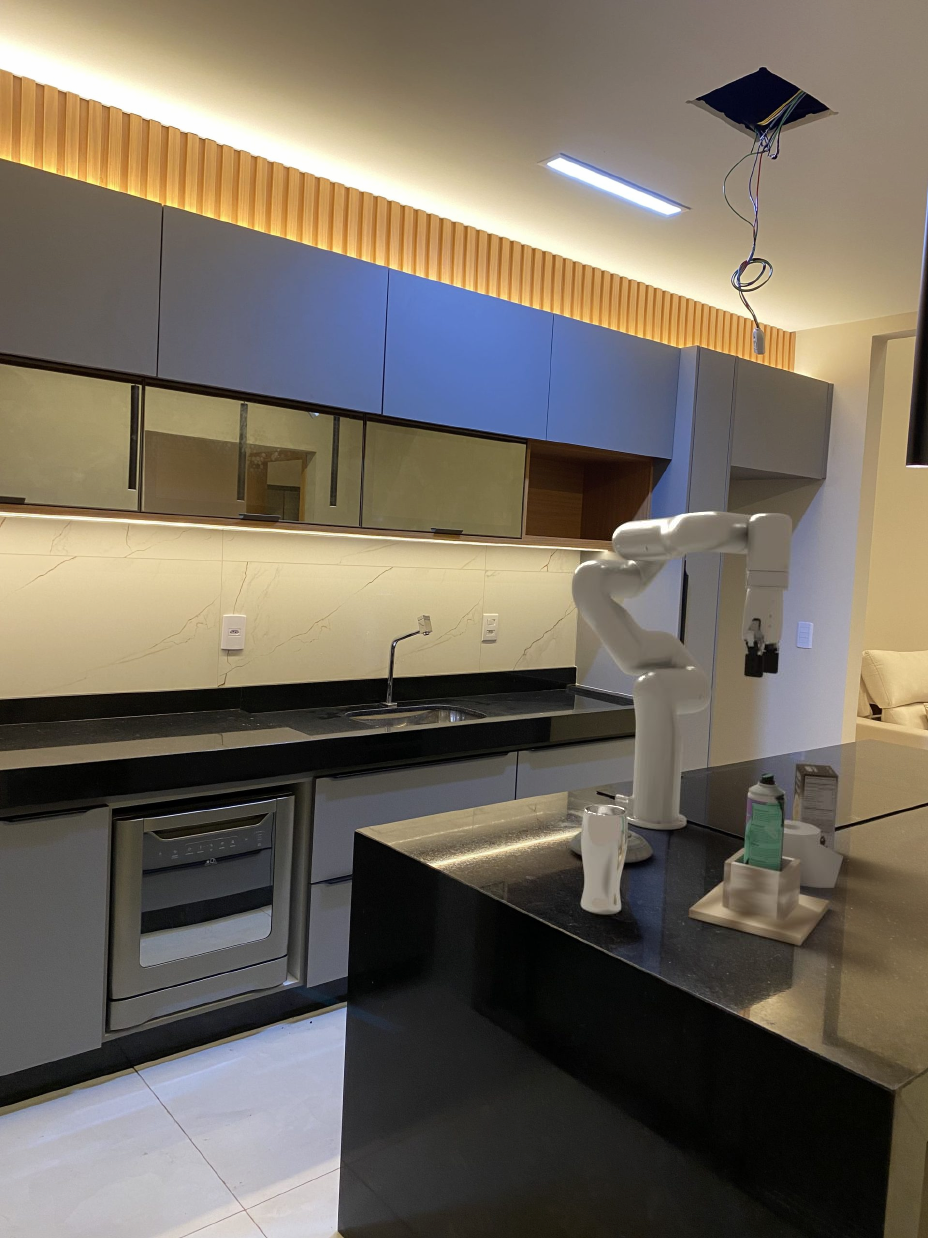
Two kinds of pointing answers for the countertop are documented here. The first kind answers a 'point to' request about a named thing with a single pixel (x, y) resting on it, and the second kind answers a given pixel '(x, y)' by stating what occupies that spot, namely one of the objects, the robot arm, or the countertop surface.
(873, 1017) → the countertop surface
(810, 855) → the toilet tissue
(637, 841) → the flying saucer
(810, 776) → the coffee box
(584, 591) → the robot arm
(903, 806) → the countertop surface
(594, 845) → the beer glass
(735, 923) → the can caddy
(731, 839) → the countertop surface
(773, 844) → the spray can
